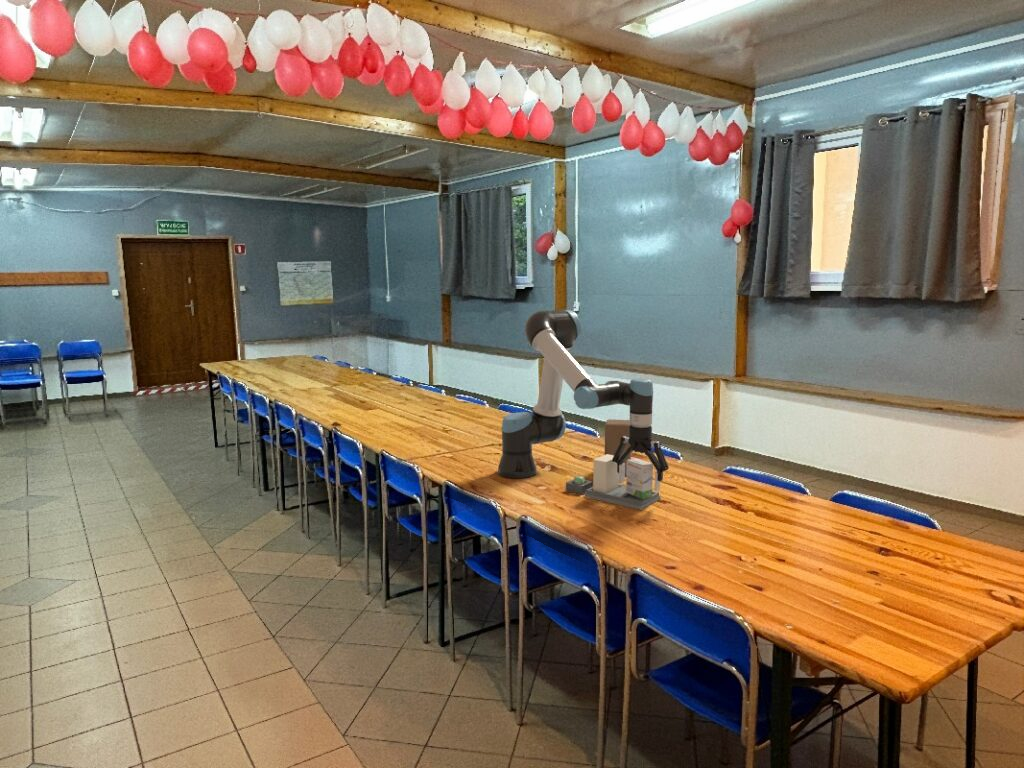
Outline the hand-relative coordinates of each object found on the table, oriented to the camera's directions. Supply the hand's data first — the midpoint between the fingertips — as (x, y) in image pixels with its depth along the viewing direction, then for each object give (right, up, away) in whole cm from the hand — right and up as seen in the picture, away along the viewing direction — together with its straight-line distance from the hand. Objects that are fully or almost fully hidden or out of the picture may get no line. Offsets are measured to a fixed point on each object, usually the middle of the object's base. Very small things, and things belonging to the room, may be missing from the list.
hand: (639, 486), depth 230 cm
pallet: (-5, -5, +5) cm, 8 cm away
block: (-2, 0, +37) cm, 37 cm away
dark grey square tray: (-19, -3, +14) cm, 24 cm away
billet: (-10, -3, +9) cm, 14 cm away
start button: (-19, -3, +14) cm, 24 cm away
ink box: (0, -3, +1) cm, 3 cm away
